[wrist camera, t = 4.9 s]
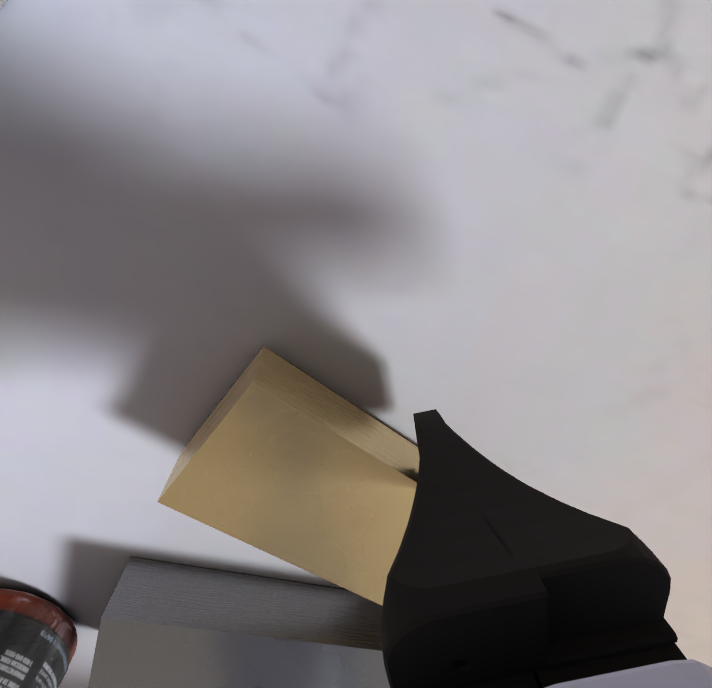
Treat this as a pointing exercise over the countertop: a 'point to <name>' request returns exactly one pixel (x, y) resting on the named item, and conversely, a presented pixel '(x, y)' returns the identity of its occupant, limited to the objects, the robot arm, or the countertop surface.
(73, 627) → the supplement bottle
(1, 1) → the coffee box
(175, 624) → the fixed leaf
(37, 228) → the countertop surface
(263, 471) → the swing leaf
